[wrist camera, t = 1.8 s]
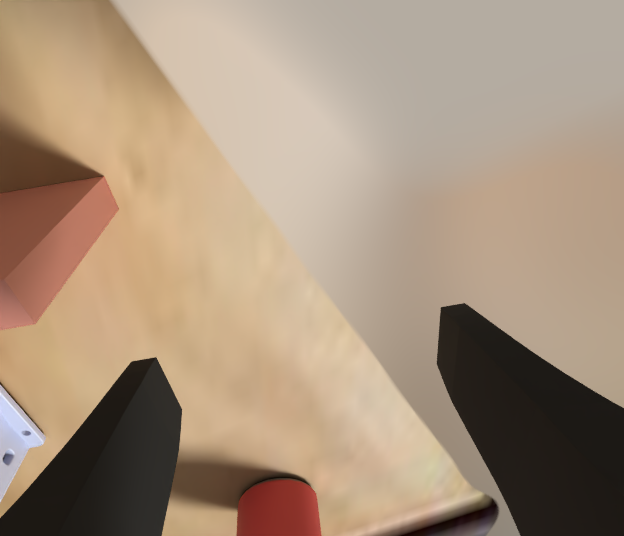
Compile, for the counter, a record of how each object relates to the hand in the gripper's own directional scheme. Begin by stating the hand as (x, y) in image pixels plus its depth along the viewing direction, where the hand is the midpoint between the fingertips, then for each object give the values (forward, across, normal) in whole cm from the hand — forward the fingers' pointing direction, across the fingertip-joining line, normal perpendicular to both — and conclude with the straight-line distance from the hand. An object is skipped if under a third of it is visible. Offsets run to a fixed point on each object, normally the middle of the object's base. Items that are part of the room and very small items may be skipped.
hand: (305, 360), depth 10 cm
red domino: (+10, +10, -2) cm, 15 cm away
